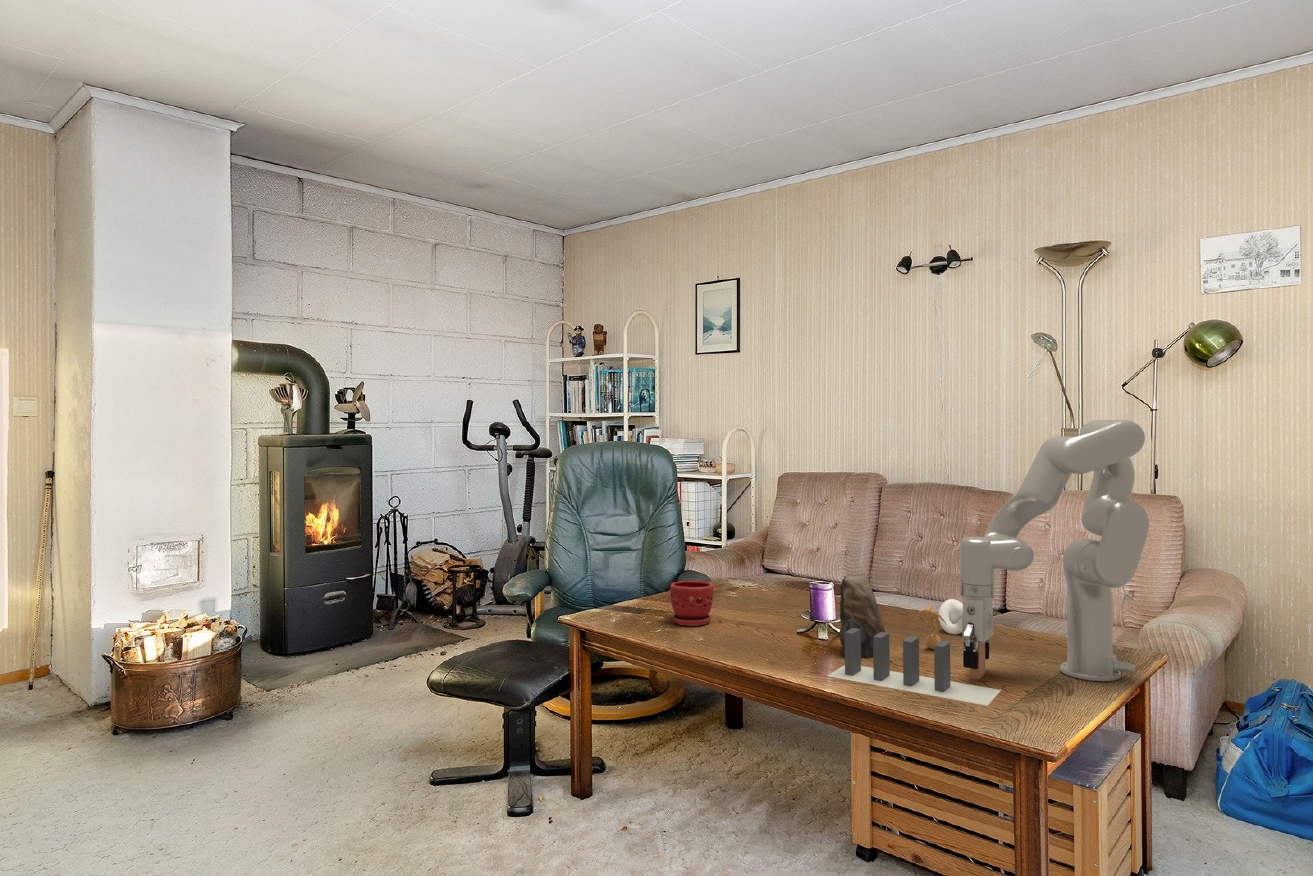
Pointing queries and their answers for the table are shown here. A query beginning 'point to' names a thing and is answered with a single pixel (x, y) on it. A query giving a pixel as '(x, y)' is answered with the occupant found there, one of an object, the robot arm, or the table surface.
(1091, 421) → the robot arm
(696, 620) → the plant pot
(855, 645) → the slate domino
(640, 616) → the table surface
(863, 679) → the felt mat
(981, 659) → the rust domino
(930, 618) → the figurine
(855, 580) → the tall jagged boulder
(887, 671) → the slate domino
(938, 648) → the slate domino
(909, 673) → the slate domino
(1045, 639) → the table surface
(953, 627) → the white knot sculpture
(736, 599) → the table surface
